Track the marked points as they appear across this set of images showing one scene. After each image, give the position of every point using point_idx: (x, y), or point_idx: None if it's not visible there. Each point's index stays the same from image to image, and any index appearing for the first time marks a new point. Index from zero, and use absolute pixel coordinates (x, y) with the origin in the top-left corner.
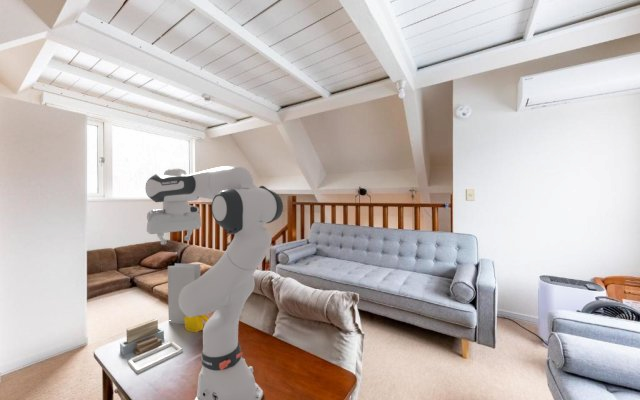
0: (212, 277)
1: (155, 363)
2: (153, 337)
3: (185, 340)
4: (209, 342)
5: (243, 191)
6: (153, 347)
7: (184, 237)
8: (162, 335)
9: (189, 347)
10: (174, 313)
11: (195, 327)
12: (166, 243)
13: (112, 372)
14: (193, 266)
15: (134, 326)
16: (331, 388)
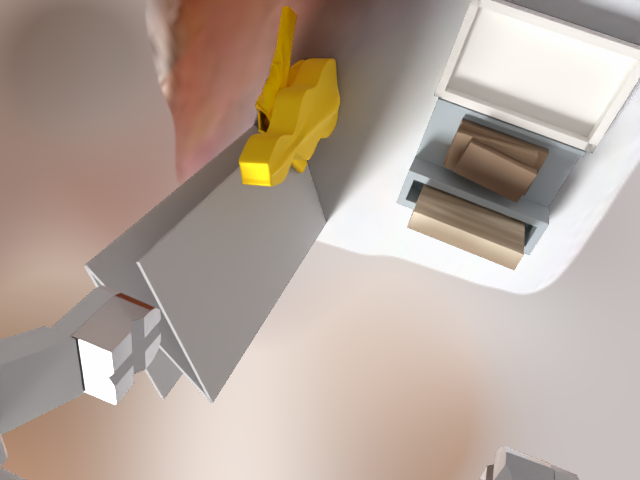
0: None
1: (584, 30)
2: (469, 164)
3: (389, 67)
4: None
5: None
6: (493, 132)
7: (128, 388)
8: (417, 164)
9: (426, 3)
10: (302, 224)
11: (329, 71)
12: (504, 449)
13: (636, 164)
14: (122, 288)
15: (489, 256)
16: None
